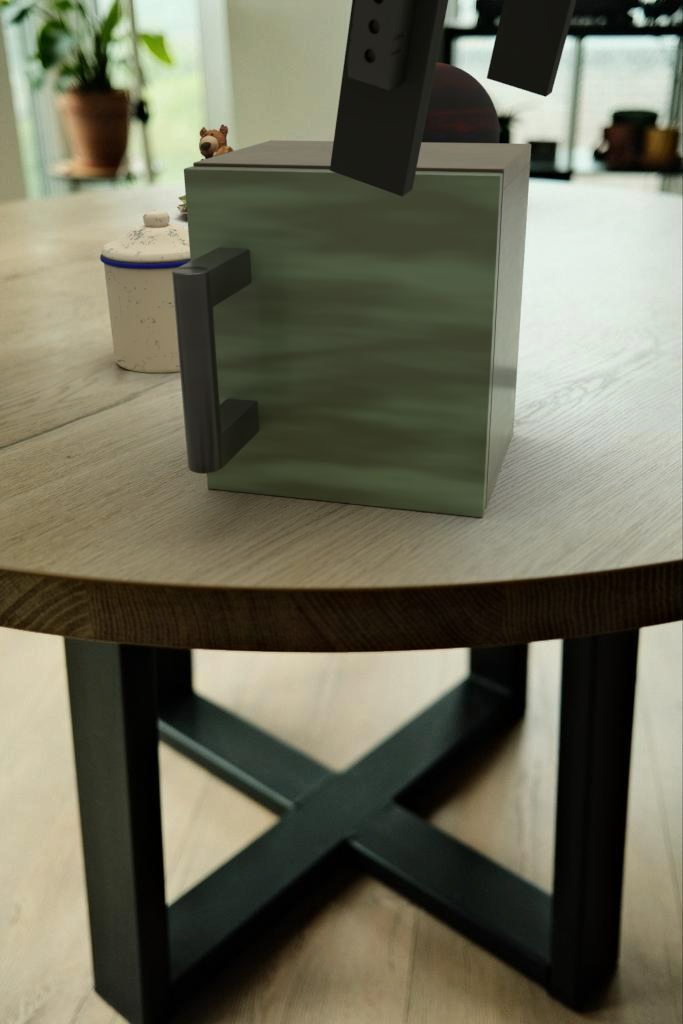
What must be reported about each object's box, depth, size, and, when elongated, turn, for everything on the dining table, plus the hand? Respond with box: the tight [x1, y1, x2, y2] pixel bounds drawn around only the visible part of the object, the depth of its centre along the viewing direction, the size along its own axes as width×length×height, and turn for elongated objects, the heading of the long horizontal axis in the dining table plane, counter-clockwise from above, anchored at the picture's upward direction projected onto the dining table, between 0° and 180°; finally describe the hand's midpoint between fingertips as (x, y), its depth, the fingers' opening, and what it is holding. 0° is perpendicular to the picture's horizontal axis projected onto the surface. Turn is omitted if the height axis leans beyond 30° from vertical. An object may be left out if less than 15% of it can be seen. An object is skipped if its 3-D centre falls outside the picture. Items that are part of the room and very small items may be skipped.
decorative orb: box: [422, 62, 500, 143], centre depth 148 cm, size 20×20×20 cm
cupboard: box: [192, 139, 532, 510], centre depth 59 cm, size 12×16×18 cm
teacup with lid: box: [99, 210, 191, 374], centre depth 82 cm, size 12×9×12 cm
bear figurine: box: [176, 124, 235, 215], centre depth 146 cm, size 14×15×12 cm
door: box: [172, 165, 503, 518], centre depth 51 cm, size 7×16×18 cm, turn 74°
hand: (454, 128), depth 38 cm, fingers open, 13 cm apart
